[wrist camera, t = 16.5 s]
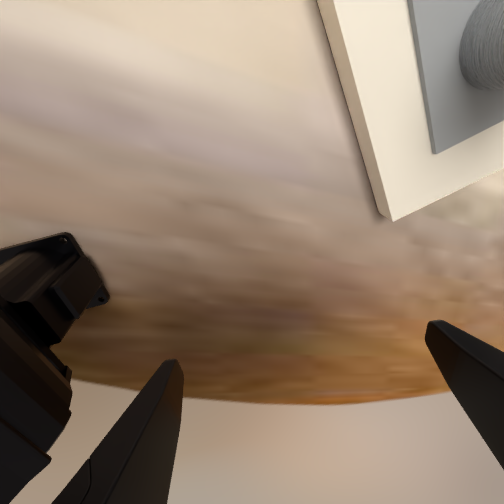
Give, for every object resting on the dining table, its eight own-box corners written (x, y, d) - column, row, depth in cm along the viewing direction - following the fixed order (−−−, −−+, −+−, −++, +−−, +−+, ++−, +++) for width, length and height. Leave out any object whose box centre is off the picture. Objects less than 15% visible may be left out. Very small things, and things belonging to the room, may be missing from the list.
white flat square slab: (378, 212, 22) (396, 223, 20) (305, -40, 14) (319, -66, 12) (591, 107, 19) (636, 108, 17) (633, -255, 12) (720, -332, 10)
